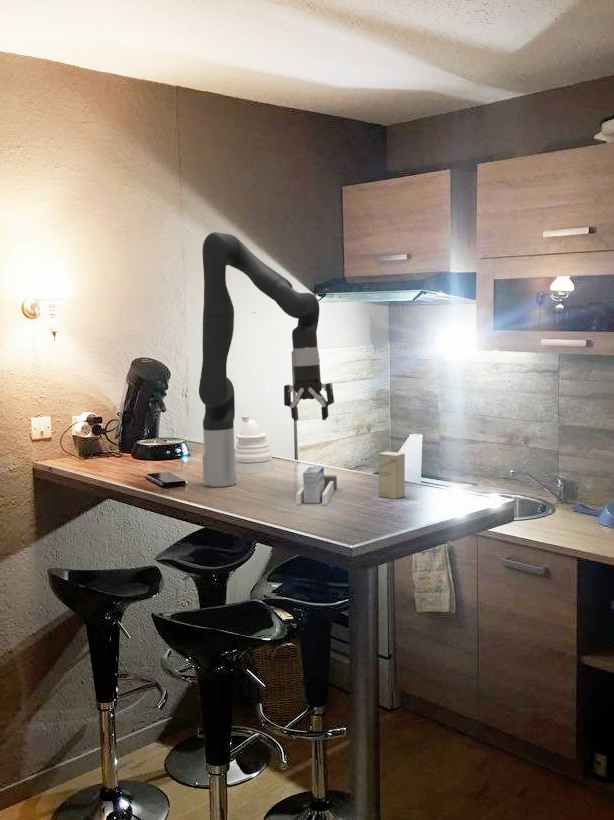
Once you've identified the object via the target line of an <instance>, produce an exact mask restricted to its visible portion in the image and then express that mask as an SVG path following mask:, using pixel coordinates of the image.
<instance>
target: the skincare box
mask: <svg viewBox="0 0 614 820" xmlns="http://www.w3.org/2000/svg"><path fill="white" fill-rule="evenodd" d="M405 456H406V454H405V453H403V452H396V451H383V452H379V453H378V497H383V498H389V499H394V500H395V499H397V500H398V499H400V498H403V497H405V492H406V491H405V487H406V486H405V483H406V480H405V475H406V474H405V472H406V470H405V469H406V468H405V467H406V466H405V464H406V463H405V462H406V461H405V458H406V457H405Z"/></svg>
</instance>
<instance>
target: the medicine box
mask: <svg viewBox="0 0 614 820" xmlns="http://www.w3.org/2000/svg"><path fill="white" fill-rule="evenodd" d="M324 475H325V468H324V467H323V466H311V467H308V468H307V469H306V470H305V471H304V472H302V480H303V481H302V482H303V483H302V484H303V485H302V486H304V501H303V502H304V504H320V503H321V502H322V494H323V492H324V490H325V487H324Z"/></svg>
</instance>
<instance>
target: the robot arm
mask: <svg viewBox="0 0 614 820" xmlns="http://www.w3.org/2000/svg"><path fill="white" fill-rule="evenodd" d="M201 252H202V253H201V254H202V268H203V310H202V311H203V312H202V363H201V364H202V365H201V371H200V372H201V373H200V378H199V380H200V381H199V385H198V395H199V398H200V400H201V402H202V404H204V417H203V420H202V428H203V429H202V431H203V450H204V451H203V454H202V473H203V474H202V476H203V486H204V487H213V488H216V487H217V488H219V487H223V488H224V487H230V486H233V485H236V484H237V472H236V469H235V449H236V446H235V428H234V427H235V425H234V424H235V423H234V421H235V413H236V412H235V411H236V409H235V407H236V405H235V403H236V402H235V399H236V398H235V389H234V388H235V387H234V385H233V382H232V381H231V380H230V378H228V377H227V365H228V364H227V362H228V356H229V352H230V349H231V345H232V341H233V337H234V328H235V327H234V326H235V309H234V308H235V307H234V305H233V304H234V303H233V300H232V298H231V295H230V292H229V290H228V287H227V280H226V277H227V274H226V273H227V266H229V267H232V268H234V269H236V270H238V271H240V272H241V273H244V275H246V277H248V278H249V279H250V281H251V282H252V283H253V285H254V286H255V287H256V288H257V289H258V290H259V291H260V292H262V293H263V294H264V295H266V296H267V297H268V298H270V299H271V300H273V301H274V302H275V303H276V304H277V305H278V306H279V308H280V309H281V310H282V311H283V312H284V313H285V314H286V315H287V316H289V317H291V318H294V319H297V326H296V327H295V328H293V330H292V332H291V340H292V367H293V379H294V381H293V382H294V383H293V384H291V385H290V384H286V385H283V401H284V402H283V404H284V406H285V407H289V408H290V413H291V415H290V416H291V419H292V420H293V421H294V422H297V421H299V409H298V407H297V406H298V405H299V403H300V401H301V400H307V399H308V400H314V399H315V400H316V401H317V402H318V403H319V404H320V405H321V419H322V421H326V420H327V418H329V406H330V405H332V404H334V403H335V397H334V389H333V384H332V383H331V382H328V383H322V382H321V379H322V378H321V367H320V363H321V361H320V354H319V353H320V352H319V348H318V335H317V330H318V326H319V325H318V324H319V318H320V304H319V300H318V298H317V296H316V295H315V294H313V293H310V292H299V291H296V290H294V288H293V284H292V283H291V281H289V279H288V278H286V277H284V276H283V275H281V274H280V273H278V272H277V271H276V270H274V269H273V268H271V267H270V266H268V265H267V264H266V263H264V262H263V261H261V259H259V258H258V257H257V256H256V255H255V254H254V253H253V252H251V251H250V249H249V248H247V246H246V245H245V244H244V243H243V242H242V241H241V240H239V239H238V238H237V237H236V236H235V235H232V234H228V233H224V232H223V233H222V232H218V231H216V232H215V231H214V232H210V233H209V234H207V236H206V237H205V238H204V241H203V244H202V251H201ZM293 390H294V393H296V395H295V396H294V398H293V400H292V398H291V395H292V393H293ZM322 390H324V392H326V399H325V396H324V395H323V394H322V393H321V391H322Z"/></svg>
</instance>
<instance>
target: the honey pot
mask: <svg viewBox="0 0 614 820" xmlns="http://www.w3.org/2000/svg"><path fill="white" fill-rule="evenodd" d="M241 421H242V422H244V423H245V424H244V426H243V427H242V429H241V432H240V433H238V434H236V435H235V436H236V437H235V438H236V439H237V440H238V441H237V443H236V444H235V469H236V474H237V473H238V474H243V475H244V474H249V475H250V474H262V473H263V474H264V473H268V472H271V471H272V470H273V467H274V466H273V453H272V451H271V448H270V446H269V445H270V444H269V443H268V440H267V438H266V437H267V434H266V433H264V432H263V430H262V428H261V426H260V425H259V424H258V422H256V421H255V420H254V419H250V416H249V415H241Z"/></svg>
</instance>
